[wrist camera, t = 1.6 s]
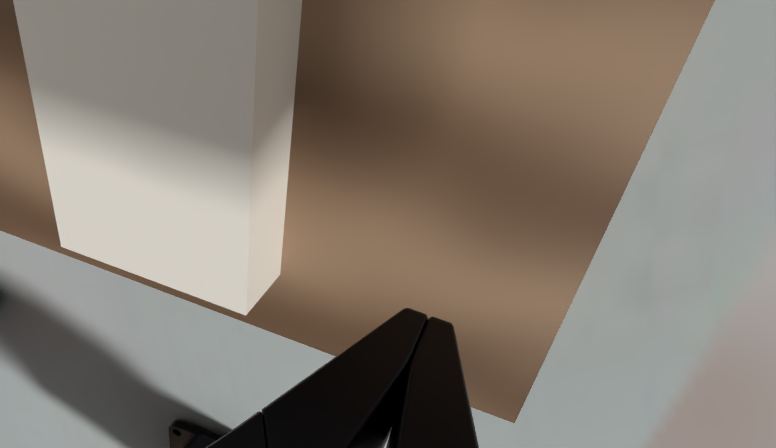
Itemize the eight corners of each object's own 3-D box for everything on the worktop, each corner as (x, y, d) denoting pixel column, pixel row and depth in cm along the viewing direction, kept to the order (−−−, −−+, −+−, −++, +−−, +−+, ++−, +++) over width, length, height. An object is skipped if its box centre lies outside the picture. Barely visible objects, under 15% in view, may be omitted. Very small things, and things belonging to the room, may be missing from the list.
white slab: (280, 274, 17) (246, 315, 15) (110, 214, 18) (60, 246, 16) (306, -53, 12) (259, -45, 10) (69, -110, 13) (-9, -112, 11)
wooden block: (527, 336, 20) (514, 423, 17) (84, 183, 23) (-1, 230, 20) (720, -109, 12) (768, -112, 9) (18, -246, 15) (-138, -286, 12)
